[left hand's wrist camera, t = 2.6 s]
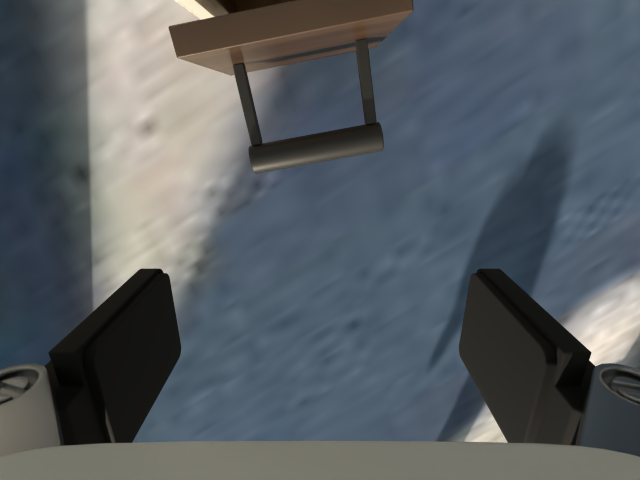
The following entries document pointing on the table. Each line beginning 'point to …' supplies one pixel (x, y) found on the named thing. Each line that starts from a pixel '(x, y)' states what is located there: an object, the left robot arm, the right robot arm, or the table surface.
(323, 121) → the table surface
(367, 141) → the drawer
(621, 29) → the table surface
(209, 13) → the cabinet
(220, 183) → the table surface
